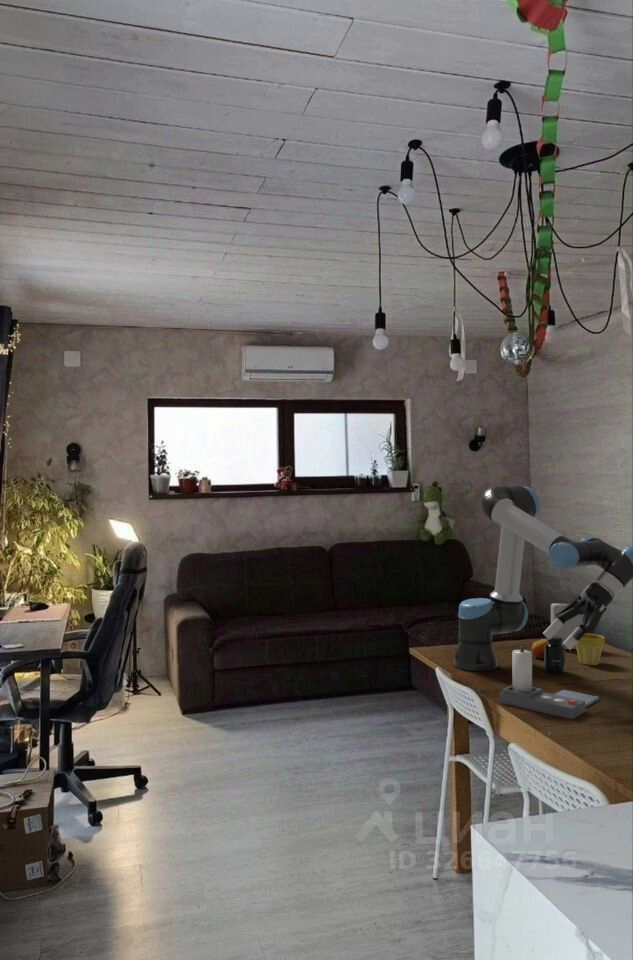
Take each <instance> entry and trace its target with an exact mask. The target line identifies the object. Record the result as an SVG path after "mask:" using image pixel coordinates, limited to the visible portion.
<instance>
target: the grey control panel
mask: <svg viewBox="0 0 633 960" xmlns="http://www.w3.org/2000/svg"><path fill="white" fill-rule="evenodd" d="M498 693H499V699H498V700H499V703H500V704H502V705H503V704H504V705H508V706H513V707H517V708H521V709H526V710H528V711H529V710H530V711H533V712H538V713H539V712H540V713H543V714H547V715H551V716H556V717H559V718H560V717H561V718H564V719H569V720H573V719H575V718H577V717H579V716H580V715H582V714H584V713H585V712H586V707H585V701H582V700H578V699H573V698H568V697H563V696H559V695H554V694H555V693H549V692H544V691H543V689H542V688H540V687H534V686H532V692H531V693H529V694H526V693H521V692H516V691H512V684H511V685H509V686H507V687H505V688H502V691H500V692H498Z"/></svg>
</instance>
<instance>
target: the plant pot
mask: <svg viewBox="0 0 633 960" xmlns="http://www.w3.org/2000/svg"><path fill="white" fill-rule="evenodd" d="M605 642H606V641H605V636H603V635H600V634H594V633H587V634H585V635H584V636H583V637H582V638H581V639H580V640H579V641H578V642H577V643H576V648H577V650H576V652H577V657H578V658H577V659H578V662H579V663H580V664H582V665H588V666H598V665H599V664H600V660H601V656H602V651H603V648H605Z"/></svg>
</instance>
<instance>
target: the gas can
mask: <svg viewBox="0 0 633 960" xmlns="http://www.w3.org/2000/svg"><path fill="white" fill-rule="evenodd" d="M590 585H591V584H588V586H586V588H584V589H583V591H582V592H581V594H580V596H581V597H582V598H584V597H585V594H586V592H585V590H586V589H587V588H588V587H589V586H590ZM568 604H569V603H555V602H554V603H551V604H550V625H551V624H552V623H553V622H554V621H555V619H556V615H555V614H556V613H557V612H558V611H560V610H561V609H563V608H564V607H566V606H567V605H568ZM583 616H584V614H582V615H580V614H579V615H577V616H575V617H573V618H571V619H570V620H568V621H566V622H565V625H563V626H562V627H561V628H560V629H559V630H558V631H557V633H556V634H555V635H554V636H559V637H562V645H563V646H564V647H565V649H568V648H567V647H566V646H565V645H564V644H563V642H564V641H565V640H566V639H567V638H568V637H569V636H570V635H571V634H572V633H573V631H574V630H575V629H576V628H577V627H579V626H580V624H581V623H582V619H583ZM578 625H579V626H578ZM579 628H580V627H579ZM580 629H581V628H580ZM572 649H576V650H575V651H577V648H576V645H575V646H574V647H573V648H572Z"/></svg>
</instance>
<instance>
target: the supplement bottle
mask: <svg viewBox="0 0 633 960" xmlns="http://www.w3.org/2000/svg"><path fill="white" fill-rule="evenodd" d="M547 640H548V644H546V645H545V654H544V659H543V660H544V664H543V666H544V668H543V669H544V671H545V672H546V673H549V674H554V675H562V674H564V673H565V672H566V650H565V647H564V646H563V645H562V637H559V636H553V637H552V638H551V639H550V640H549V639H548V638H547Z"/></svg>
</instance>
